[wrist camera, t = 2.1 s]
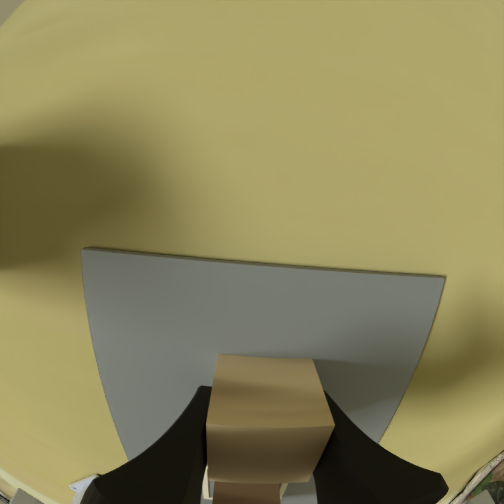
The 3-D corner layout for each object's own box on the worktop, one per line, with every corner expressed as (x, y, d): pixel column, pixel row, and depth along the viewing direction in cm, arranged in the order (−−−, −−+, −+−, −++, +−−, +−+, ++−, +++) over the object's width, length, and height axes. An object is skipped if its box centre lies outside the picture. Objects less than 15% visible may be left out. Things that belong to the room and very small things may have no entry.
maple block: (296, 419, 12) (307, 481, 8) (216, 416, 12) (208, 480, 8) (312, 358, 11) (335, 425, 7) (218, 353, 11) (205, 423, 7)
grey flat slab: (329, 504, 16) (330, 508, 15) (148, 496, 15) (147, 500, 15) (440, 275, 11) (446, 279, 10) (85, 247, 10) (79, 250, 10)
